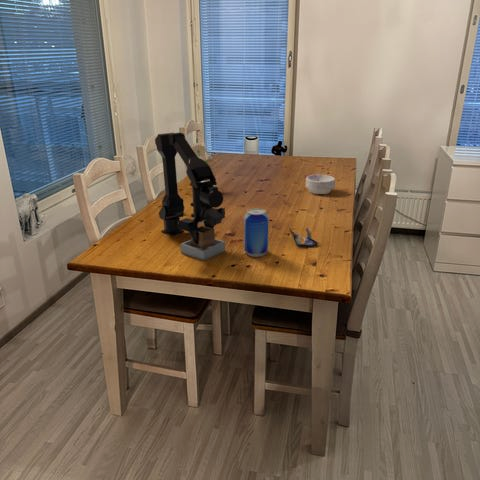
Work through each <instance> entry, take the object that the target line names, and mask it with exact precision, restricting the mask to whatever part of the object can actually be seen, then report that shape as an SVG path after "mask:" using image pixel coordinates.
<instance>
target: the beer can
mask: <svg viewBox="0 0 480 480" xmlns="http://www.w3.org/2000/svg"><path fill="white" fill-rule="evenodd" d="M266 212H267V211H266V209H264V208H260V207H259V208H255V207H254V208H250V209H247V210H246V214H245V215H244V252H246V254H247V255H248V256H250V257H253V258H255V257H256V258H260V257H264V256H265V255H266V254H267V252H268V251H269V216H268V214H267V213H266Z"/></svg>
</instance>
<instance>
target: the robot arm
mask: <svg viewBox="0 0 480 480" xmlns="http://www.w3.org/2000/svg"><path fill="white" fill-rule="evenodd" d="M154 144H155V146H156V150H157V152H158V154H159V155H160V156H161V160H162V171H163V180H164V190H165V191H164V192H165V194H164V196H163V198H162V200H161V207H160V209H159V212H158V217H159V219H161V220H163V229H162V230H161V232H162V233H164V234H166V235H170V236H174V235H176V234H179V233H182V232H184V231H186V232H188V233H189V235H190V238H191V237H192V238H193V240H194V242H195V244H198V241H199V230H200V229H201V228H199V227H200V226H199V224H200V223H203V226H206V227H209V228H213V229H215V226H216V225H219V224H221V223H222V220H223V219H225V218H226V216H225V215H226V209H225V208H223V207H220V206H221V205H222V204H223V202H224V195H223V193H222V192H221V191H219V188H218V186H217V179H216V177H215V175H214V173H213V172H214V171H213V170H212V168H211V166H210V165H209V164H208V162H207V163H206V162H205V160H204V159H202V158H201V157H200V158H199V157H197V155H196V154H195V152H194V151H193V149H192V146H191V145H190V143H189V142H188V141H187V139H186V137H185V134H184V133H183V132H168V133H167V132H166V133H159V134H157V135H156V137H155V139H154ZM177 154H178V155H179V156H180V158H181V160H182V161H183V162H184V164H185V166H186V175H187V177H188V178H189V179H188V180H189V181H190V183H189V186H190V187H192V188H191V189H192V202H191V203H190V207H192V209H193V212H192V213H191V214H190V217H191V218H193V219H191V218H187V217H185V218H184V214H185V205H184V199H183V198H182V197H181V196H180V194H179V190H178V178H177V166H176V165H177V163H176V155H177ZM207 180H209V181H207ZM201 181H205V182H201ZM213 185H215V186H213ZM218 207H219V208H218ZM181 218H183V219H181Z"/></svg>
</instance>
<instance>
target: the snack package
mask: <svg viewBox="0 0 480 480" xmlns="http://www.w3.org/2000/svg"><path fill="white" fill-rule="evenodd" d="M289 232H290V234H291V236H292V238H293V240H294V242H295V246H296V247H299V246H305V247H307V248H312V247H318V241H316V240H314V239H313V237H312V233H311V231H310V229H309V228H308V227H307V228H305V232H306V235H307V236H306V237H303V236H301V235H300V234H298V233H297V231H296V232H295V231H293V230H292V229H291V228H289ZM300 238H303V243H302V242H300Z"/></svg>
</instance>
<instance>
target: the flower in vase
mask: <svg viewBox="0 0 480 480" xmlns="http://www.w3.org/2000/svg"><path fill="white" fill-rule="evenodd" d="M191 148H192V149H193V151H194V152H195V154H196V155H197V157H198V158H200V159H201V157H203V156H204V155H205V154H206V152H207V151H206V146H204V145H202V144H195V145H193V147H192V146H191ZM204 161H205V162H206V163H207V164H208V163H209V161H210V158H208V159H206V160H204ZM207 181H210V180H207ZM201 182H205V181H201ZM213 186H216V185H213Z"/></svg>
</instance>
